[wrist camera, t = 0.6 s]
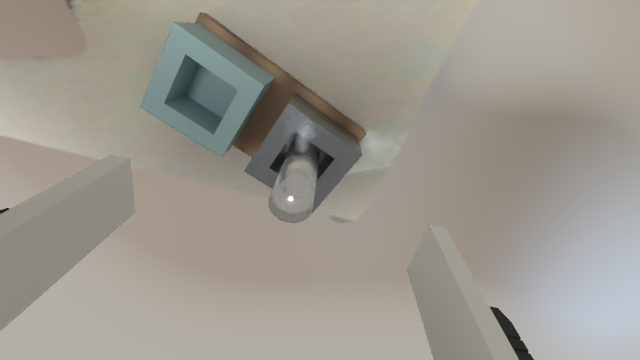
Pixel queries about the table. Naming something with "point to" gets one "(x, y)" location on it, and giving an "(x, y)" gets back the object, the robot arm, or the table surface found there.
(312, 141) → the socket block
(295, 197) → the translucent peg
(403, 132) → the table surface
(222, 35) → the tool board
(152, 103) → the teal square holder
